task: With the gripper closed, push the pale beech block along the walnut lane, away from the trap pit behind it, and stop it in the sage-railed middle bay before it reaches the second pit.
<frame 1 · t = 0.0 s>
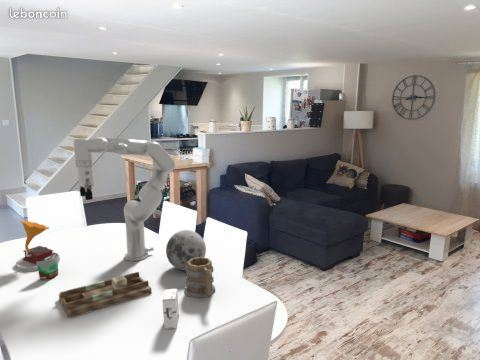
hand: (86, 197, 182), 37 cm above the table, tool pointing down, fingers open, 9 cm apart
block: (119, 286, 163), point 2 cm above the table, touching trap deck
ink box: (171, 323, 140), on the table
tankard: (202, 295, 161), on the table
gramophone: (38, 263, 194), on the table
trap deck: (106, 296, 160), on the table
food container: (52, 276, 178), on the table
moon model: (186, 268, 188), on the table
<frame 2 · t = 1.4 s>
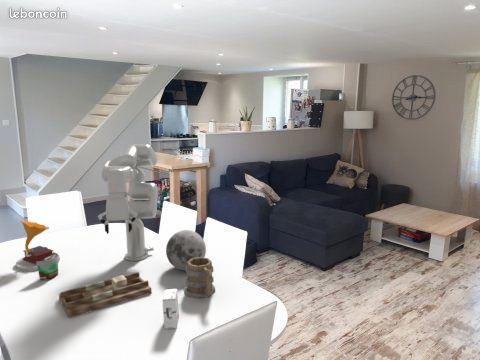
hand: (118, 232, 169), 24 cm above the table, tool pointing down, fingers open, 9 cm apart
nothing on the table moved.
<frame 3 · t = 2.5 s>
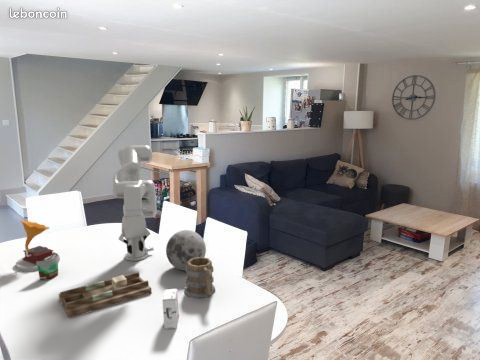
hand: (135, 251, 165), 17 cm above the table, tool pointing down, fingers open, 4 cm apart
nothing on the table moved.
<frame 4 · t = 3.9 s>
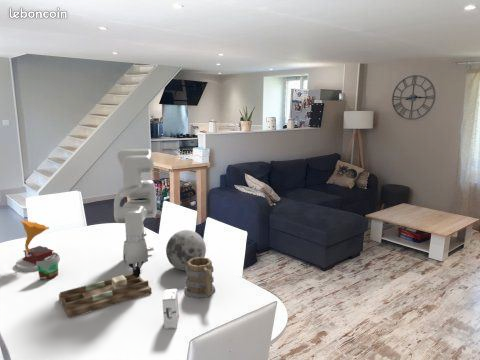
hand: (136, 276, 166), 6 cm above the table, tool pointing down, fingers closed
nothing on the table moved.
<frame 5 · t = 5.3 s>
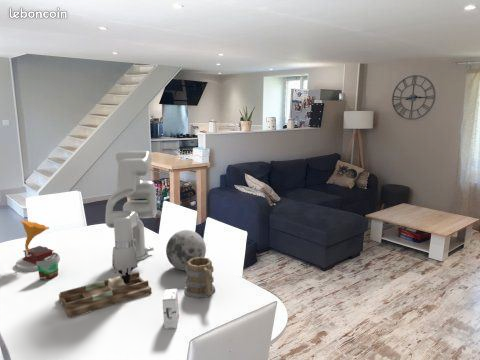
hand: (126, 282, 164), 4 cm above the table, tool pointing down, fingers closed
block: (116, 287, 162), point 3 cm above the table, touching gripper
everything else where it was.
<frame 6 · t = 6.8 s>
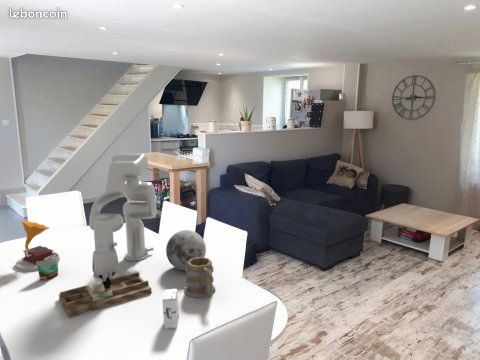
hand: (107, 287, 159), 4 cm above the table, tool pointing down, fingers closed
block: (96, 293, 156), point 2 cm above the table, touching gripper, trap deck
everything else where it was.
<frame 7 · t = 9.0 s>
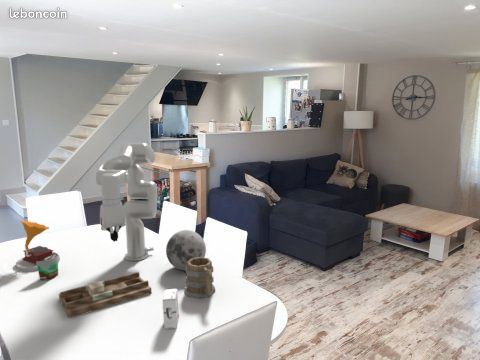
hand: (114, 240, 165), 22 cm above the table, tool pointing down, fingers closed
block: (96, 293, 156), point 2 cm above the table, touching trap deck
everything else where it was.
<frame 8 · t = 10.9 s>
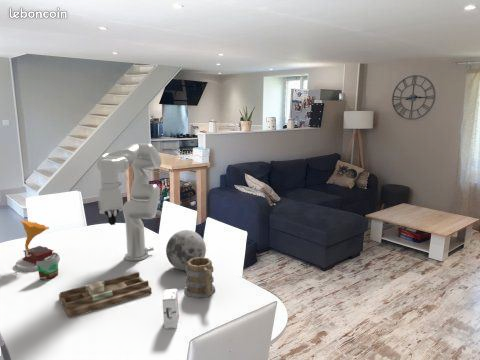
hand: (112, 224, 172), 27 cm above the table, tool pointing down, fingers closed
nothing on the table moved.
at the end: block inside the target area (0.8 cm from its centre), point 2.5 cm above the table; block tilted 0° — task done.
